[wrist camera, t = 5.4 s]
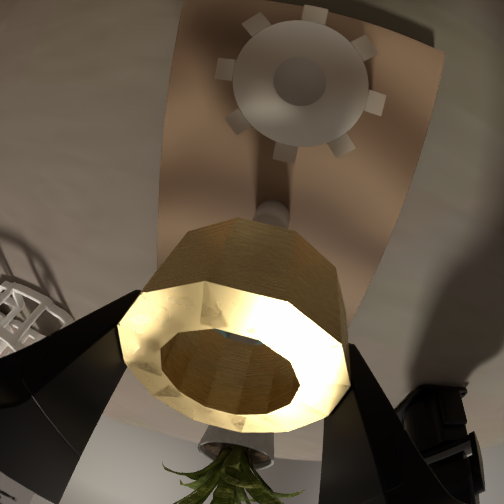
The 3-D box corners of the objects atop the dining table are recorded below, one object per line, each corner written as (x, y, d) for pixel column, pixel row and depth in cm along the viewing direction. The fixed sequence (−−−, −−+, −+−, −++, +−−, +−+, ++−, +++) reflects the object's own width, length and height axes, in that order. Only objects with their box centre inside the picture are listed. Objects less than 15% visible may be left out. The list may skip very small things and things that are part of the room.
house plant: (237, 443, 34) (209, 552, 20) (154, 388, 30) (98, 514, 17) (335, 420, 28) (324, 564, 14) (250, 350, 24) (197, 549, 10)
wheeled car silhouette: (-3, 320, 33) (-29, 351, 27) (-28, 260, 28) (-62, 290, 21) (94, 369, 32) (67, 415, 26) (70, 302, 26) (28, 353, 20)
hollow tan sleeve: (309, 378, 11) (304, 444, 9) (163, 340, 12) (133, 399, 9) (371, 250, 8) (391, 324, 6) (164, 200, 9) (107, 252, 6)
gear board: (325, 354, 23) (323, 413, 18) (165, 314, 24) (137, 365, 19) (434, 55, 11) (485, 47, 7) (194, 2, 12) (147, -25, 7)
